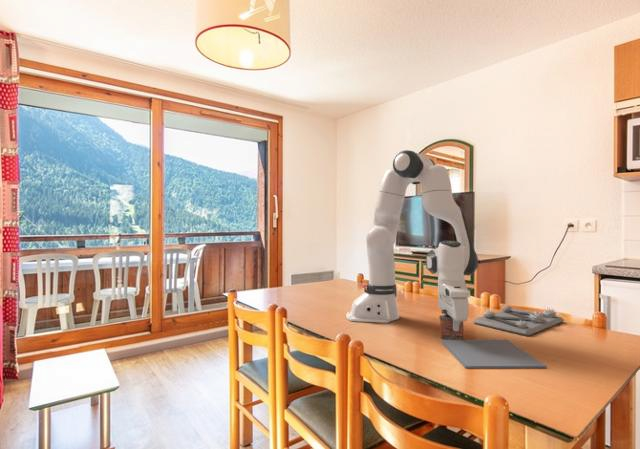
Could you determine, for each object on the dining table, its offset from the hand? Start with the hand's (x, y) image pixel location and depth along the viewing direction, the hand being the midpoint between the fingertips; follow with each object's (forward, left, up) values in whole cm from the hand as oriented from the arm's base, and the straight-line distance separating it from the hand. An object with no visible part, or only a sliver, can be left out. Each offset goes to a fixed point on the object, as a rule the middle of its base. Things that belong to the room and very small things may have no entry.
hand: (451, 327), depth 125 cm
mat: (+6, -15, -4) cm, 17 cm away
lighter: (0, 0, -4) cm, 4 cm away
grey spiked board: (+32, +18, -4) cm, 37 cm away
